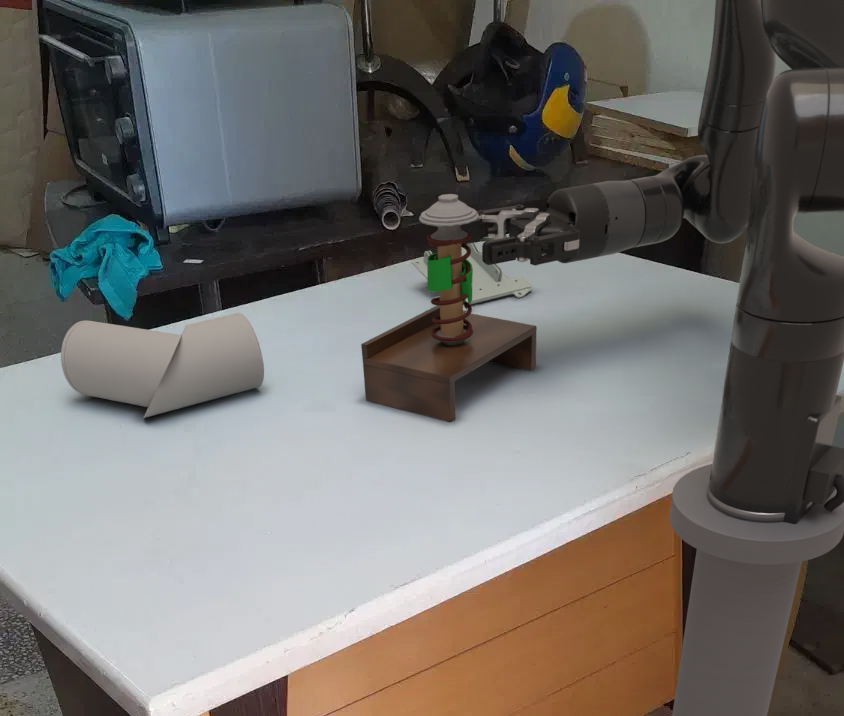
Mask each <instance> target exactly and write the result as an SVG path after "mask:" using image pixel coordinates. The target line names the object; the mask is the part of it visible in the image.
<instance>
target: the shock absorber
mask: <svg viewBox="0 0 844 716" xmlns="http://www.w3.org/2000/svg"><path fill="white" fill-rule="evenodd" d="M418 217H419V218H418V220H419V222H420V223H422V224H424V225H427V226H432V227H437V230H434V231H432V232H430V233H429V234H428V235H427V236H426V239H427V241H428V243H427V244H428V246H429V247H435V248H436V247H437V252H435V253H432V254H431V255H430V254H429V255H430V256H429V257H428V259H427V279H426V280H427V286H426V287H427V291H428V292H430V293H437V292H438V291H439V292H438V293H439V296H440V297H438V296H435V297H436V298H434V297H432V298H433V299H430V303H431V304H432V305H433V306H437V305H440V316H435V317H433V318H432V322H433V323H435V324H441V326H438V327H436V328H434V329H433V330H432V332H431V335H432V337H433V338H435V339H437V340H439V341H441V342H443V343H445V344H448V345H455V344H459V343H461V342H462V341H464V340H465V339H467V338H469V337H470V336H471V335H472V334H473V329H472V325H471V323H470V322H469V321H468V320H466V319H465V318H466V317H468V316H469V315H470V314H472V311H473V308H472V304H470V303H471V301H472V274H473V268H472V264H471V263H470V262H469V261H468V260H467V258H468V257H469V256H470V254H471V249H470V247H469V246H468V245H467V244H465V243H463V242H466V241H468V240H470V239H471V238H472V234H471V233H470V232H469V231H466V230H461V228H460V226H461V225H463V224H468V223H470V222H473V221H476V220H477V219H478V218H479V215H478V213H477V210H475V208H472V207H470V206H468V205H467V204H466V203H465V202H463V201H461V200H459V195H458V194H455V193H454V194H453V193H447V194H446V193H445V194H441V195H439V196H438V201H436V202H435V203H433V204H432V205H431V206H429V208H427V209H426V210H424V211H422V212H421V213H420V216H418ZM462 249H465V250H466V251H467V253H466V254H465V255H463V256H462ZM466 298H468V302H466V301H465V300H466ZM463 305H465V306H464V307H465V308H466V309H467V310H466V311H465V312H466V313H465V314H463ZM463 323H464V324H466V325H463Z"/></svg>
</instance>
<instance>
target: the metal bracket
mask: <svg viewBox="0 0 844 716" xmlns="http://www.w3.org/2000/svg"><path fill="white" fill-rule="evenodd" d="M466 245H468V246H469V247H470V249H471V254H470V256H469V257H468V258H467V260H468V261H469V262H470V263H471V264H472V268H473V274H472V301H471V303H470V305H474V304H478V303H481V302H486V301H489V300H494V299H497V298H502V297H506V296H509V295H514V296H515V297H516V298H518V299H522V298H524V297H525V296H526V295H527V294H528V293H530V292H531V291H532V290H533V285H532V284H531V283H530V282H529V281H528V280H527V279H526V278H525V277H524V276H516V277H512V278H510V277H508V276H507V275H506V274H505V273H504V272H503V269H502V267H501V266H500V265H499V263H497V264H492V265H487V264H485V263H484V262H483V260H482V249H480V248H479V247H478V245H477V244H476V242H474V243H469V244H466ZM466 253H467V251H466V250H465V249H464V248H462V256H463V255H465V254H466ZM431 254H433V252H432V251H431V250H425V251H424V252H423V257H420V258H416V259H412V260H411V264H412V265H413V266H414V268H416V270H418V272H420V274H421V275H422V276H423V277H424V278H425V279H426V280H427V259H428V257H429V256H430V255H431ZM438 293H439V291H438ZM436 297H440V296H434V297H432V299H433V298H436ZM432 299H431V300H432ZM465 301H466V302H468V298H466V300H465ZM463 312H467V307H466V306H465V305H463Z"/></svg>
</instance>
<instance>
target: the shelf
mask: <svg viewBox="0 0 844 716" xmlns="http://www.w3.org/2000/svg"><path fill="white" fill-rule="evenodd" d="M466 312H467V311H465V312H463V314H465V313H466ZM435 316H440V305H434V306H433V307H431V308H429V309H427V310H425V311H423V312H422V313H421V312H420V313H419V314H417V315H415V316H413V317H411V318H409V319H408V320H406V321H404V322H402V323H400V324H398V325H396V326H394V327H392V328H389V329H387V330H386V331H384V332H382V333H380V334H378V335H375V336H374V337H372V338H370V339H368V340H366V341H365V342H363V343H361V344H360V346H361V357H362V369H363V380H364V393H365V401H366V402H369V403H373V404H378V405H381V406H385V407H390V408H393V409H397V410H402V411H406V412H409V413H414V414H417V415H422V416H425V417H429V418H433V419H437V420H442V421H444V422H449V423H451V422H454V420H456V419H457V418H456V417H457V414H456V383H455V382H456V381H458V380H459V379H461V378H463V377H465V376H466V375H468V374H469V373H471V372H473V371H475V370H476V369H478V368H480V367H481V366H483V365H484V364H486V363H488V362H489V363H492V364H493V363H494V364H497V365H498V364H499V365H503V366H508V367H512V368H516V369H517V368H518V369H521V370H526V371H533V370H535V369H536V366H537V365H536V362H537V358H536V357H537V325H535V324H529V323H524V322H519V321H514V320H513V321H512V320H507V319H503V318H497V317H492V316H487V315H481V314H475V313H471V314H470V315H469V316H468V317H466V318H465V319H466V320H468V321H469V322H470V323H471V325H472V329H473V334H472V335H471V336H470V337H469V338H467V339H465V340H464V341H462V342H461V343H459V344H455V345H448V344H445V343H443V342H441V341H439V340H437V339H435V338H433V337H432V335H431V332H432V330H433V329H434V328H436V327H438V326H441V324H435V323H433V322H432V318H433V317H435ZM463 325H466V324H464V323H463Z"/></svg>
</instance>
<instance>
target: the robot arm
mask: <svg viewBox="0 0 844 716" xmlns="http://www.w3.org/2000/svg"><path fill="white" fill-rule="evenodd" d="M714 5H715V7H714V19H713V20H714V21H713V33H712V42H711V50H710V51H711V52H710V58H709V64H708V71H707V76H706V80H705V86H704V92H703V97H702V103H701V106H700V107H701V108H700V113H699V117H698V124H697V138H698V141H699V143H700V145H701V147H702V149H703V151H704V153H705V154H701V155H700V154H699V155H695V156H691V157H689V158H686V159H684V160H682V161H680V162H679V163H676V164H674V165H672V166H670V167H668V168H666V169H664V170H662V171H661V172H660V173H658V174H656V175H651V176H644V177H638V178H633V179H627V180H625V179H624V180H606V181H600V182H595V183H588V184H582V185H576V186H571V187H565V188H564V187H563V188H559V189H556V190H555V191H553V192H552V193H551V194H550V196H549V197H548V200H547V202H546V204H545V206H544V208H543V209H542V211H540V209H539V208H537V207H526V208H525V205H523V204H520V203H519V204H516V205H510V206H503V207H496V208H491V209H484V210H481V209H480V210H478V211H477V210H476V211H477V213H478V215H479V218H478V219H477V220H476V221H473V222H470V223H468V224H463V225H461V226H460V228H461V230H466V231H469V232H470V233H471V234H472V238H471V239H470V240H468V241H466V242H463V243H465V244H466V245H467V244H469V243H474V242H475V243H479V242H482V245H481V248H482V249H481V251H482V260H483V262H484V263H485V264H487V265H492V264H502V263H507V262H513V261H517V262H519V263H525V262H528V261H529V264H530V265H532V266H539V265H543V264H544V265H545V264H549V263H553V262H559V263H561V264H570V263H574V262H581V261H586V260H589V259H595V258H600V257H601V258H602V257H605V256H609V255H610V256H611V255H614V254H618V253H621V252H624V251H626V250H630V249H634V248H639V247H644V246H649V245H655V244H658V243H659V244H660V243H663V242H665V241H667V240H669V239H671V238H673V237H674V236H675V234H677V233H678V231H679V229H680V228H681V226H682V223H683V219H685V220H686V221H687V222H689V223H690V224H691V225H692V226H693V227H694V228H695V229H697V231H698V232H699V233H700V234H702V235H703V236H704V237H705V238H706V239H707V240H709V241H710V242H713V243H715V244H728V243H731V242H733V241H735V240H736V239H738V238H739V237H740V236H742V235H743V234H744V233H745V231H746V236H745V243H744V249H743V258H742V264H741V271H740V279H739V285H738V291H737V297H736V304H735V310H734V315H733V323H732V330H731V336H730V342H729V343H730V344H729V350H728V357H727V363H726V369H725V370H726V371H725V376H724V383H723V388H722V389H723V390H722V395H721V403H720V410H719V417H718V423H717V430H716V437H715V442H714V443H715V444H714V450H713V457H712V463H711V464H712V470H711V473H710V481H709V483H708V489H707V499H708V501H709V502H710V504H711V505H712V506H713V507H714V508H716V509H717V510H719V511H720V512H722V513H724V514H726V515H729V516H731V517H734V518H738V519H742V520H746V521H753V522H765V523H771V522H787V523H791V524H797V523H798V522H799V521H800V520H801V519H802V518H803V516H804V515H805V514H806V513H807V512H809V511H810V509H811V508H812V506H813V505H814V504H815V503H817V504H821V505H823V504H824V502H825V501H826V500H827V499H828V498H829V497H830V495H831V494H832V493H833V492H834V491H835V490H837V493H836V495H835V496H834V497H833V498H831V499H830V500H829V501H827V502H826V503H825V504H824V508H825V509H826V510H827V511H829V512H832V511H833V510H834V509H836V508H837V507H839V506H840V505H841V504H842V503H843V502H844V448H843V447H838V446H834V445H833V443H834V438H835V434H836V429H837V425H838V421H839V416H840V412H841V408H842V403H843V396H842V395H840V394H838V389H839V384H840V381H841V376H842V371H843V367H844V256H841V255H839V254H837V253H834V252H831V251H829V250H826V249H823V248H821V247H818V246H816V245H814V244H812V243H810V242H808V241H807V240H805V239H804V238H803V237H801V236H800V235H799V234H798V233H796V231H795V230H794V221H795V217H796V215H798V214H836V213H837V214H838V213H840V214H841V213H842V214H843V213H844V0H715V4H714ZM776 56H777V57H778V58H779V59H780V60H781V61H782V62H783V63H784V64H785V65H786V66H787V67H789V69H786V70H784V71H782V72H780V73H779V74H778V75H777V76H775V75H776V65H777V64H776V62H777V61H776V60H777V59H776V58H777V57H776ZM489 223H492V224H493V226H492V227H489ZM507 233H508V236H507Z"/></svg>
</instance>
